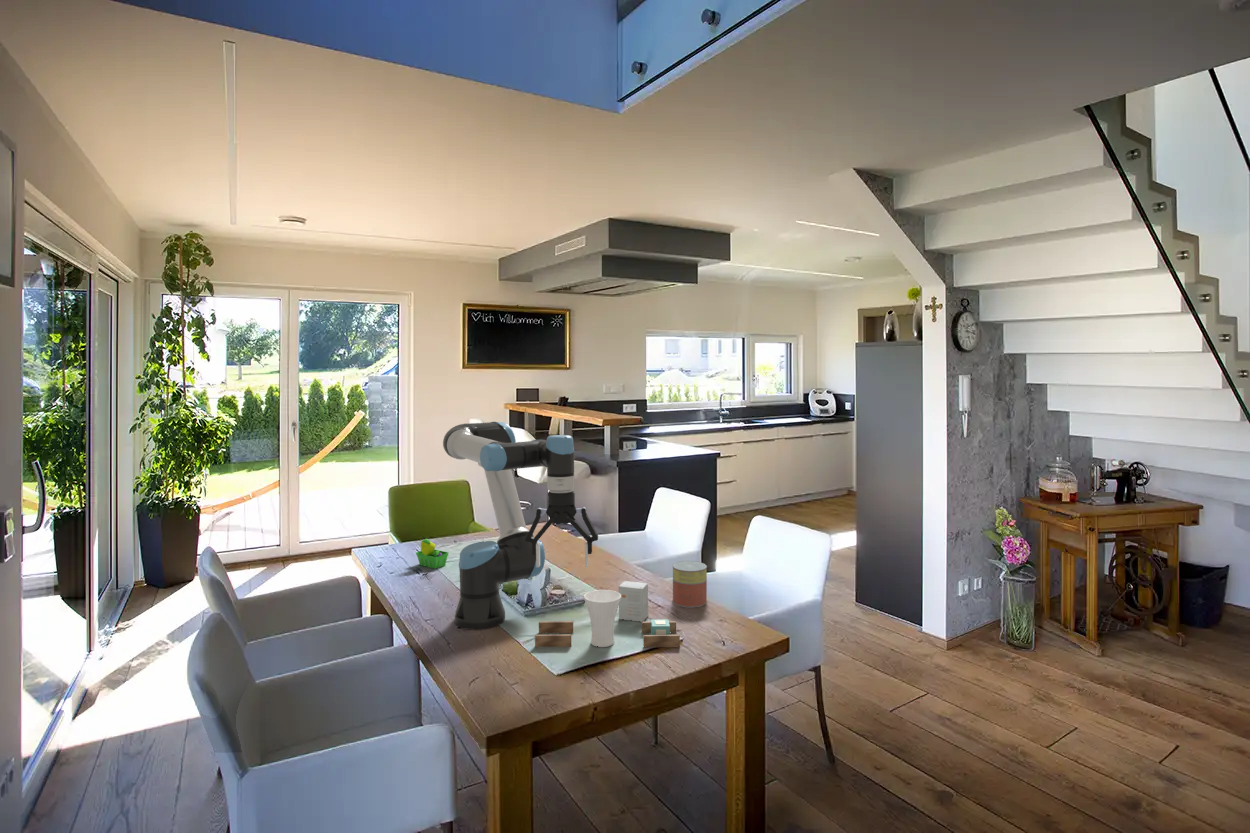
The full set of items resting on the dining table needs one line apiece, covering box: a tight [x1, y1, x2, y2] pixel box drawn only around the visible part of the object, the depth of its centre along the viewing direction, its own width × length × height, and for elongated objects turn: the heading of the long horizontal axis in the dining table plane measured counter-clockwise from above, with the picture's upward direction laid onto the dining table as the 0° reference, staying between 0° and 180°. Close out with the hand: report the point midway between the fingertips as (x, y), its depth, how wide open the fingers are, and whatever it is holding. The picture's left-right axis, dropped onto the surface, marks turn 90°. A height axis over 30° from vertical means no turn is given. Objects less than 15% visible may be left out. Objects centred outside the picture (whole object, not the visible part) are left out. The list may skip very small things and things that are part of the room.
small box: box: [617, 580, 649, 623], centre depth 209 cm, size 8×6×10 cm
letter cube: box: [650, 618, 671, 635], centre depth 192 cm, size 5×5×5 cm
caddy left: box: [534, 620, 574, 648], centre depth 193 cm, size 10×11×3 cm
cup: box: [583, 589, 621, 648], centre depth 190 cm, size 10×10×14 cm
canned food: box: [672, 560, 708, 608], centre depth 223 cm, size 11×11×12 cm
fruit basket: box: [415, 538, 450, 570], centre depth 264 cm, size 11×9×11 cm
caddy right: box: [641, 620, 681, 648], centre depth 192 cm, size 10×11×3 cm
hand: (562, 565), depth 190 cm, fingers open, 13 cm apart
